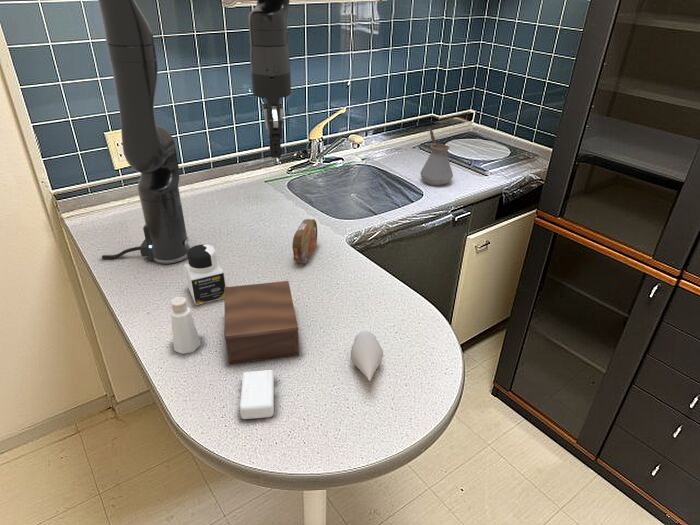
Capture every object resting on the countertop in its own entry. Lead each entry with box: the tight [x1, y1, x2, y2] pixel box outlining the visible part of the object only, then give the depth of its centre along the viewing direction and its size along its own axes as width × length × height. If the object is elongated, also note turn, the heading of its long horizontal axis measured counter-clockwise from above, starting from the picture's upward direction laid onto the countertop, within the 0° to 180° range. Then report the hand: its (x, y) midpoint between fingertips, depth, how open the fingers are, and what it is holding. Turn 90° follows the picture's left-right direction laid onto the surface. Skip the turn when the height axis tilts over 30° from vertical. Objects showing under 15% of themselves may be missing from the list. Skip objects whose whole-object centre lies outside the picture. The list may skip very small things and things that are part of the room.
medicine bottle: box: [184, 243, 226, 306], centre depth 111 cm, size 7×7×12 cm
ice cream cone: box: [350, 330, 384, 382], centre depth 92 cm, size 6×6×15 cm
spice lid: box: [223, 280, 299, 340], centre depth 98 cm, size 16×13×1 cm
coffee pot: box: [419, 128, 454, 187], centre depth 177 cm, size 21×12×15 cm, turn 4°
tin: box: [291, 218, 318, 264], centre depth 128 cm, size 15×3×8 cm, turn 168°
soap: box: [239, 369, 275, 420], centre depth 86 cm, size 9×6×3 cm, turn 7°
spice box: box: [225, 329, 300, 365], centre depth 100 cm, size 15×13×7 cm
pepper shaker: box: [170, 296, 201, 355], centre depth 96 cm, size 5×5×11 cm
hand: (275, 156), depth 104 cm, fingers closed
